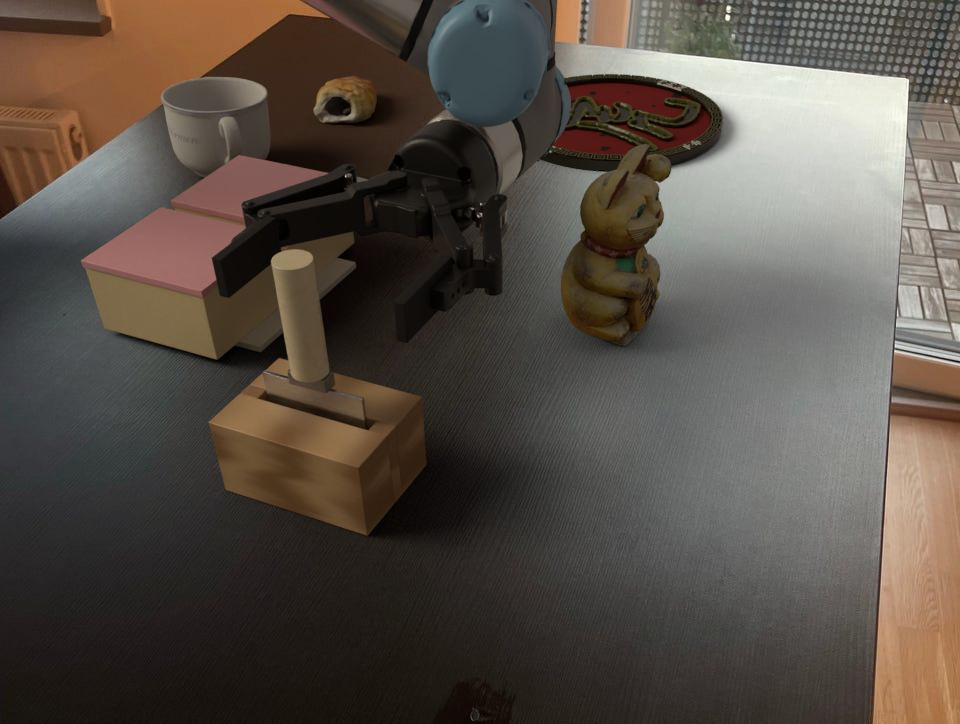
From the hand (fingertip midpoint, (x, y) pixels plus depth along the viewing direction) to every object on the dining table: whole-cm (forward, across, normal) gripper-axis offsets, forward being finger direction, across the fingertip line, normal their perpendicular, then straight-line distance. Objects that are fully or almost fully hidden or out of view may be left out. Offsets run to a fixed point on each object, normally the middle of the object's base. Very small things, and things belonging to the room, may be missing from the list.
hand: (307, 300), depth 66 cm
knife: (+1, 0, -14) cm, 14 cm away
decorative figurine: (-27, -11, -14) cm, 33 cm away
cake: (-19, +22, -14) cm, 32 cm away
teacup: (-39, +37, -14) cm, 56 cm away
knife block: (+1, 0, -14) cm, 14 cm away
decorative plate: (-68, +4, -14) cm, 70 cm away
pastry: (-59, +34, -14) cm, 70 cm away
